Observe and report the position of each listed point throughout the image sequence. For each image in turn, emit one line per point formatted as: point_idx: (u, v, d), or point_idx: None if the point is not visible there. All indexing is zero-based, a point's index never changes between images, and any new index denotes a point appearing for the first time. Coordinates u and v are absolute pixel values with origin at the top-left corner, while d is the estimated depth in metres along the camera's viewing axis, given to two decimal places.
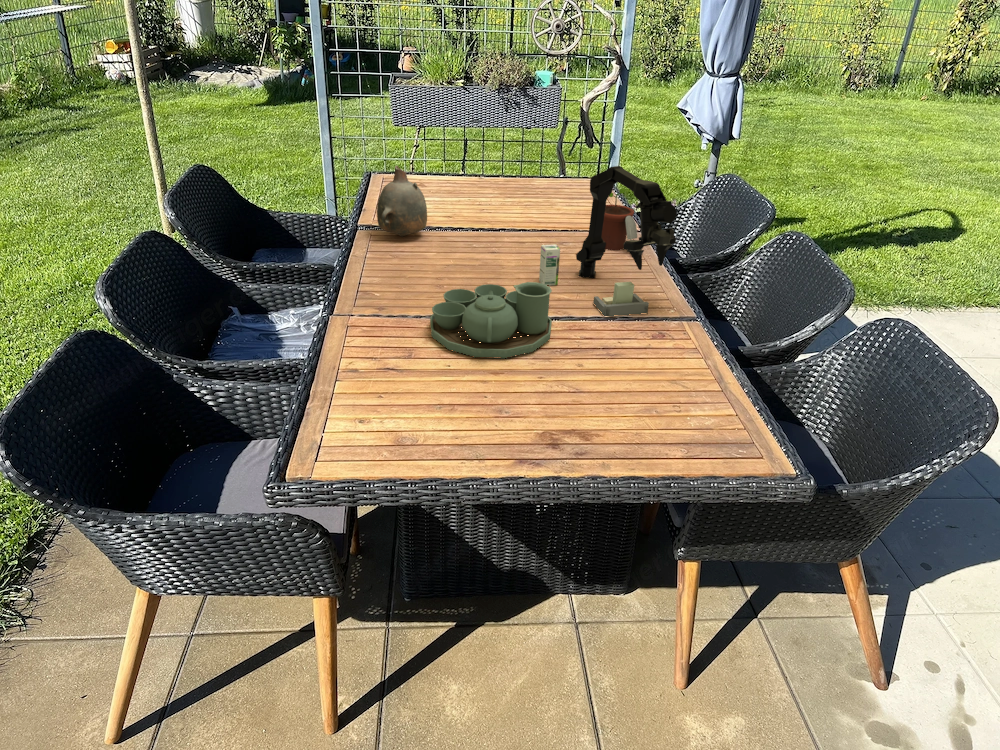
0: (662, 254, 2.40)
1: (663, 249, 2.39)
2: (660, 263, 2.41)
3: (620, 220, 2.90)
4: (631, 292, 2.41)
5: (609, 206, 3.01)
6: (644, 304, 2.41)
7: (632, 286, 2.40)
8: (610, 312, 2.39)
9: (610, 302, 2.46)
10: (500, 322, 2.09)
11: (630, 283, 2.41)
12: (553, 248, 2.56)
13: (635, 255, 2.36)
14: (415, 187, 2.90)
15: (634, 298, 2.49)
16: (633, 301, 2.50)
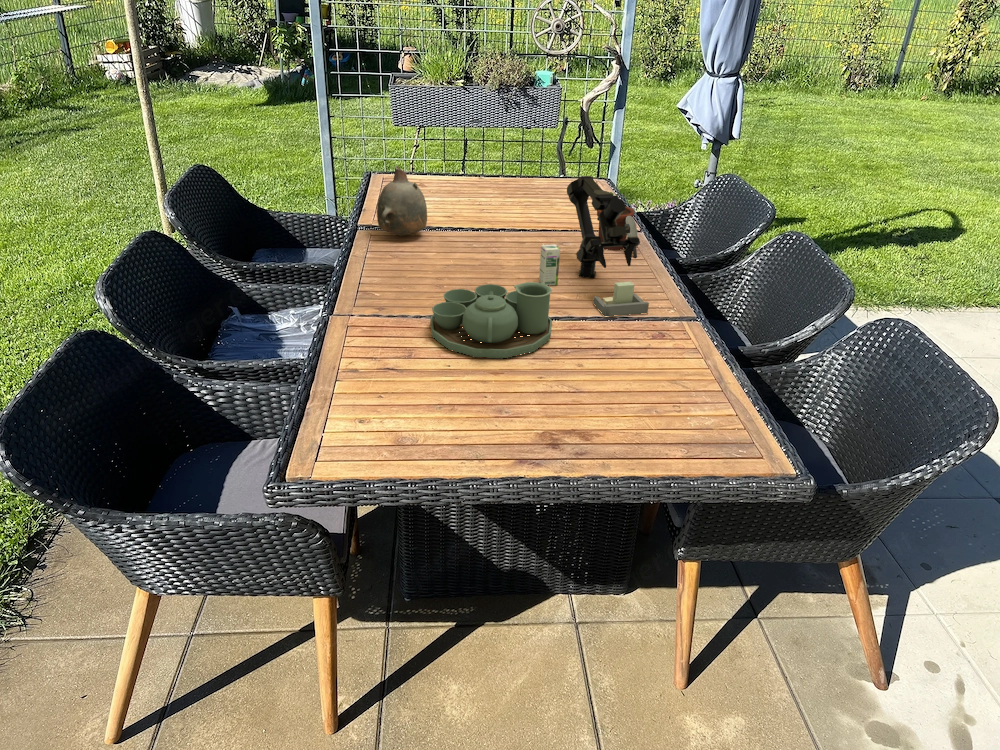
0: (628, 254, 2.46)
1: (628, 249, 2.46)
2: (628, 263, 2.46)
3: (620, 220, 2.90)
4: (631, 292, 2.41)
5: None
6: (644, 304, 2.41)
7: (632, 286, 2.40)
8: (610, 312, 2.39)
9: (610, 302, 2.46)
10: (500, 322, 2.09)
11: (630, 283, 2.41)
12: (553, 248, 2.56)
13: (598, 255, 2.45)
14: (415, 187, 2.90)
15: (634, 298, 2.49)
16: (633, 301, 2.50)
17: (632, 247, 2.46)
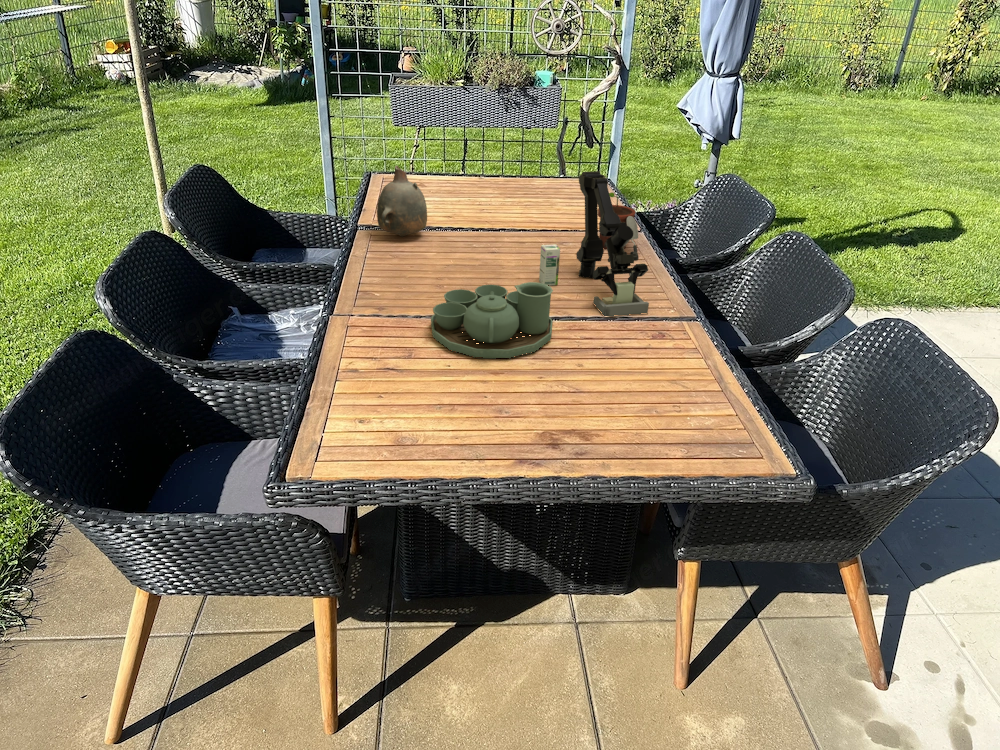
0: (632, 282, 2.42)
1: (632, 277, 2.42)
2: None
3: (621, 220, 2.90)
4: (631, 292, 2.41)
5: None
6: (644, 304, 2.41)
7: (632, 286, 2.40)
8: (610, 312, 2.39)
9: (610, 302, 2.46)
10: (502, 322, 2.09)
11: (630, 283, 2.41)
12: (553, 248, 2.56)
13: (609, 282, 2.42)
14: (415, 187, 2.90)
15: (634, 298, 2.49)
16: (633, 301, 2.50)
17: (636, 275, 2.41)
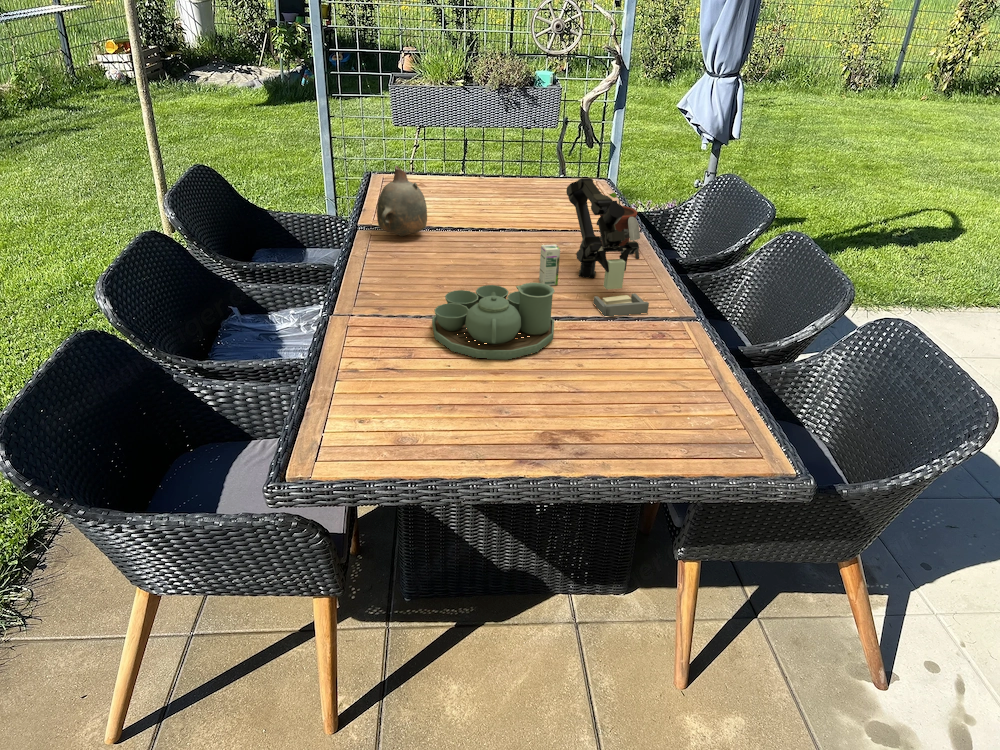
0: (623, 259, 2.47)
1: (623, 254, 2.47)
2: None
3: (623, 221, 2.89)
4: (622, 269, 2.46)
5: None
6: (644, 304, 2.41)
7: (623, 263, 2.45)
8: (610, 312, 2.39)
9: (610, 302, 2.46)
10: (504, 323, 2.09)
11: (621, 260, 2.46)
12: (553, 248, 2.56)
13: (601, 260, 2.47)
14: (415, 187, 2.90)
15: (634, 298, 2.49)
16: (633, 301, 2.50)
17: (627, 252, 2.46)
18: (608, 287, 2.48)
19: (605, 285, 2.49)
